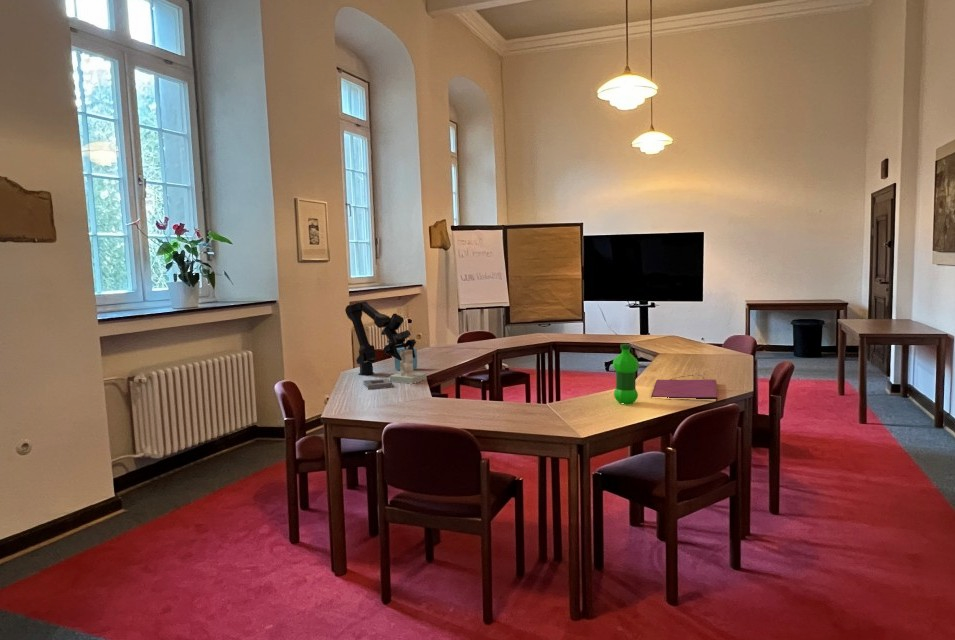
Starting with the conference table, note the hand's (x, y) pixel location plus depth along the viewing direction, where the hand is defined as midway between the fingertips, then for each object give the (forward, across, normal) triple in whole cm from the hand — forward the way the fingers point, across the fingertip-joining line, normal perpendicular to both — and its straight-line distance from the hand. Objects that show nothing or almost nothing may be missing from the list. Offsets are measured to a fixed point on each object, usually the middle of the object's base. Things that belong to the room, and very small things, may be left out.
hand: (408, 358), depth 336 cm
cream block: (+5, 0, +7) cm, 9 cm away
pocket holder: (+5, -16, +12) cm, 21 cm away
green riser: (+7, +1, +9) cm, 12 cm away
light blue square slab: (-10, +22, +27) cm, 36 cm away
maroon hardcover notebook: (+94, +58, -77) cm, 135 cm away
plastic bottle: (+87, +20, -71) cm, 114 cm away
